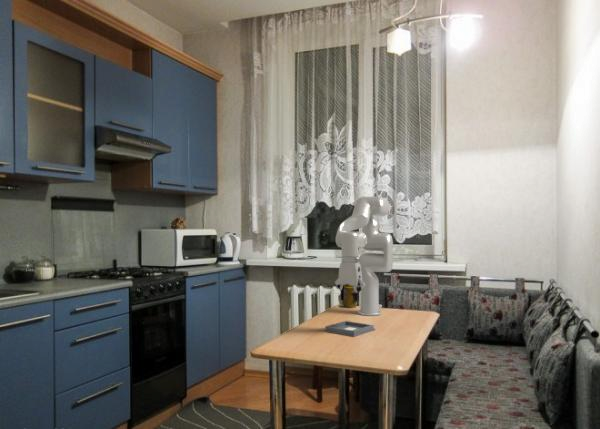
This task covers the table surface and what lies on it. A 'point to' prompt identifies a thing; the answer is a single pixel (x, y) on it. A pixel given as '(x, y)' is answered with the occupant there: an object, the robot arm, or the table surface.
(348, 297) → the condiment
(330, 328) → the dock
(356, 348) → the table surface
